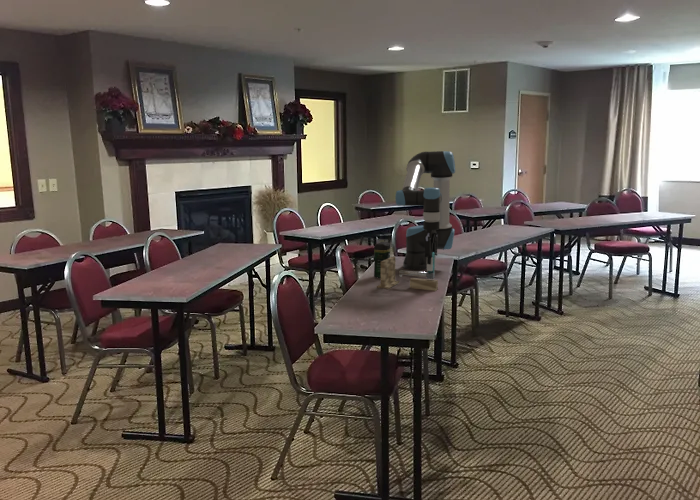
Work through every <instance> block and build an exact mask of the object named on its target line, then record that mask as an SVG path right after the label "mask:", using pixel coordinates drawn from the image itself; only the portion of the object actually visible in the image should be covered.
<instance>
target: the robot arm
mask: <svg viewBox="0 0 700 500" xmlns="http://www.w3.org/2000/svg"><path fill="white" fill-rule="evenodd" d="M455 173H456V163H455V157H454V153H453V152H452V151H449V150H448V151H446V150H440V151H439V150H438V151H435V150H434V151H422V152H418V153H417V154H415V155H413V157H411V159H409V161H408V162H407V164H406V175H405V178H404V181H403V184H402V185H403V186H402V189H400V190H396V192H395V196H394V197H395V204H396V205H397V206H402V207H414V206H415V207H423V213H422V217H423V220H424V221H423V225H414V226H409V227H408V228H406V231H405V233H406V234H405V237H406V239H405V243H406V244H405V245H406V246H405V247H406V248H405V251H406V253H405V256H404V260H403V262H402V267H403V268H404V269H408V270H415V269H416V271H417V270H426V271H427V272H428V271H433V257H432V252H435V257H434V271H435V270H436V256H438V250H443V251H444V250H446V251H447V250H451V249H452V248H453V245H454V244H453V243H454V239H455V231H456V230H455V228H453V225H452V223H450V190H451V189H450V180H451V178H453V175H454V174H455ZM424 174H430V178H431V179H432V180H433V187H424V188H423V190H422V189H421V190H419V185H420V182H421V178H422V176H423V175H424Z"/></svg>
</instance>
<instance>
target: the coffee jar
mask: <svg viewBox="0 0 700 500" xmlns="http://www.w3.org/2000/svg"><path fill="white" fill-rule="evenodd" d="M373 251H374V252H373V253H374V256H373V257H374V265H373V267H374V268H373V277H374V278H376V279H381V261H384V260H386V259H388V258H390V257H391V243H390V242H389V241H380V242H378V243H375V244H374V246H373Z"/></svg>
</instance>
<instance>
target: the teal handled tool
mask: <svg viewBox="0 0 700 500" xmlns="http://www.w3.org/2000/svg"><path fill="white" fill-rule="evenodd" d="M432 257H433V271H427V272H425V271H417V270H416V271H414V270H413V271H412V270H402V269H400V270H398V276H399V277H398V278H402V277H403V276H411V277H424V278H426V279H429V280H435V278H436V271H435V270H434V257H435V258H436V256H435V252H432Z"/></svg>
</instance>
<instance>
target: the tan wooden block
mask: <svg viewBox="0 0 700 500" xmlns="http://www.w3.org/2000/svg"><path fill="white" fill-rule="evenodd" d="M399 283H400V281H398V280H396V257H395V256H390V258H388V259H386V260H384V261H381V278H380V284H379V285H376V288H377V289H384V288H386V290H390V288H392V287H394V286H396V285H398V284H399Z"/></svg>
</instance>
